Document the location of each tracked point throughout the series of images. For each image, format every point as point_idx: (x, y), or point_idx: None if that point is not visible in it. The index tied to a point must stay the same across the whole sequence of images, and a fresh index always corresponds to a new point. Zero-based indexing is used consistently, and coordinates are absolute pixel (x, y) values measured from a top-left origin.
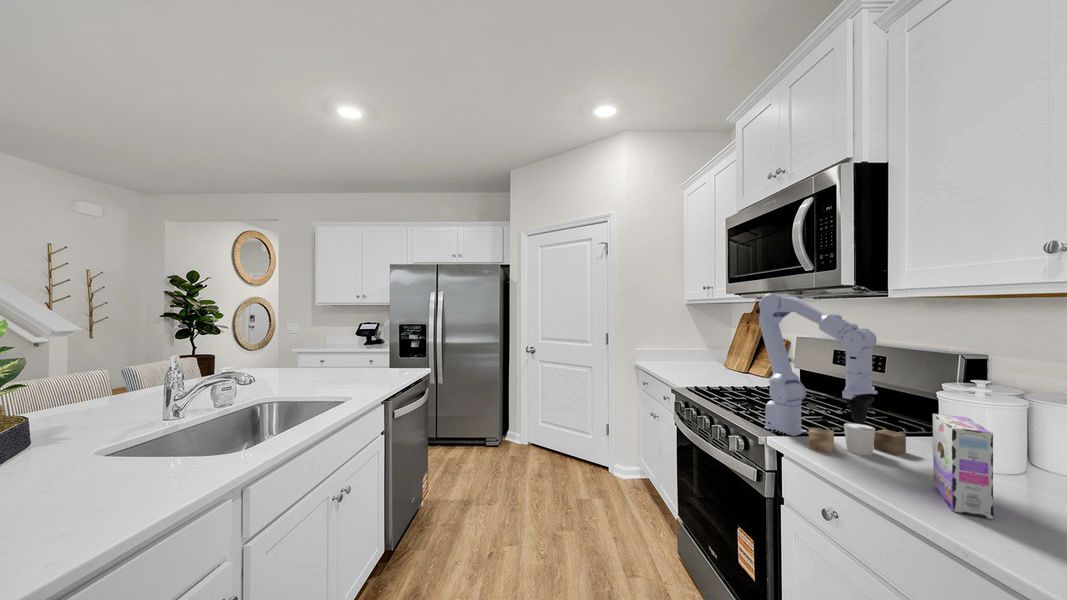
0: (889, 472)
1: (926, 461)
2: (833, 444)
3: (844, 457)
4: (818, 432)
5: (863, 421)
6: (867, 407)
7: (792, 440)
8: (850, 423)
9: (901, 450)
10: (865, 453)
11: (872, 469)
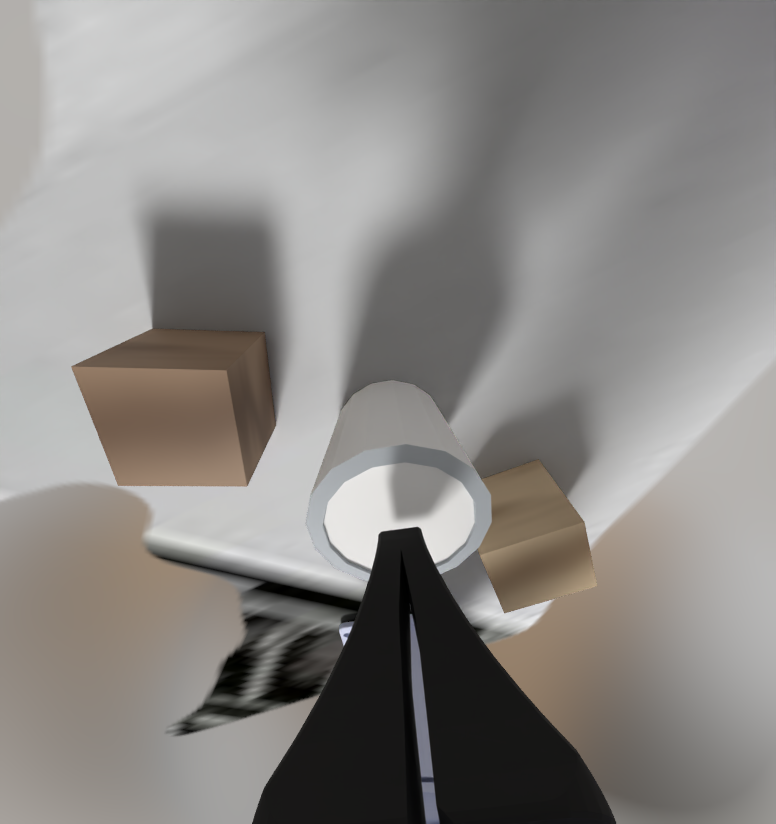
0: (624, 173)
1: (185, 179)
2: None
3: (550, 406)
4: (582, 563)
5: (408, 536)
6: (396, 663)
7: None
8: None
9: (189, 334)
10: (422, 392)
11: (642, 248)
